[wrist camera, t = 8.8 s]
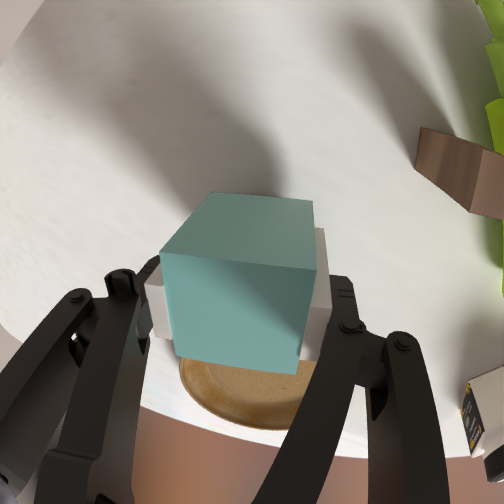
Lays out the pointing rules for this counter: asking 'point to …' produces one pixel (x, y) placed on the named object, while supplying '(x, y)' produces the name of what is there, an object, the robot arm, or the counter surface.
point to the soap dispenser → (496, 75)
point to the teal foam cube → (242, 281)
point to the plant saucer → (247, 392)
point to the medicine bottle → (486, 421)
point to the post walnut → (463, 172)
